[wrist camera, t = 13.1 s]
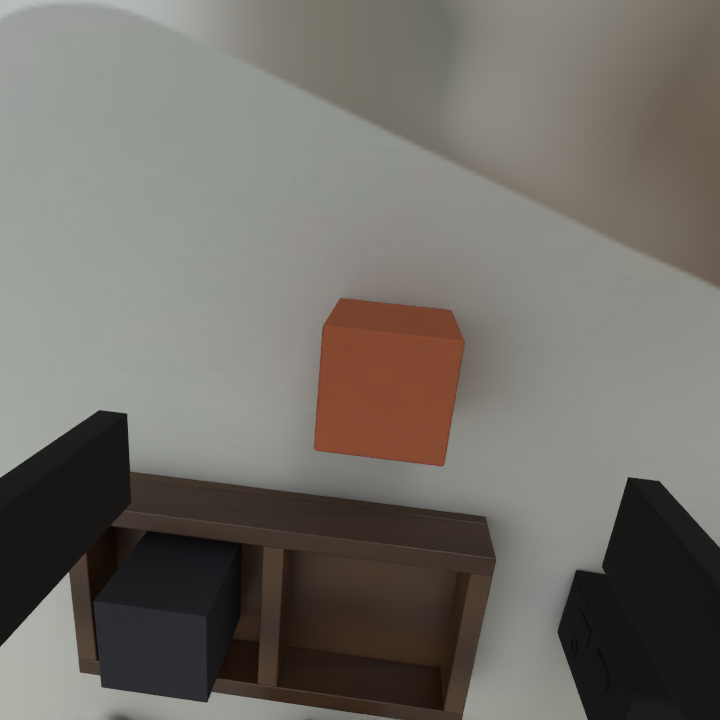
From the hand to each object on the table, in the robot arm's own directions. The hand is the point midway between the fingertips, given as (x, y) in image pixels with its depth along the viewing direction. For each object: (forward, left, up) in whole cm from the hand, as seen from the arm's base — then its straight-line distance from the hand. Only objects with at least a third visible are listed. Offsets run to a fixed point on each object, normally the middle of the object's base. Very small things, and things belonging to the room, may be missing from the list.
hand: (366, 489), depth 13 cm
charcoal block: (+13, -9, -10) cm, 18 cm away
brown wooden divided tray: (+13, -4, -11) cm, 17 cm away
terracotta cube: (0, 0, -11) cm, 11 cm away
